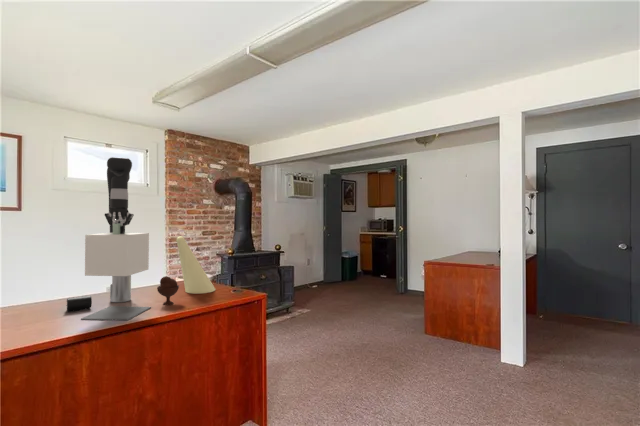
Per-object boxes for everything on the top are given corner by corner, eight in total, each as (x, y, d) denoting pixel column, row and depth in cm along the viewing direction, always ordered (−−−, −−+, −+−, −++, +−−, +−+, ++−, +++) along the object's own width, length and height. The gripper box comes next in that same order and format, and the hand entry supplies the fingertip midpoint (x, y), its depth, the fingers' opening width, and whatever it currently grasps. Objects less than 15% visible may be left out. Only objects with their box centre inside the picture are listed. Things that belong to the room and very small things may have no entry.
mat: (80, 319, 161) (80, 318, 161) (109, 307, 183) (109, 306, 183) (127, 320, 161) (127, 319, 161) (151, 307, 182) (151, 306, 182)
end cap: (67, 313, 171) (67, 299, 171) (65, 310, 177) (65, 297, 177) (91, 310, 178) (91, 296, 178) (89, 307, 183) (89, 294, 183)
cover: (84, 275, 162) (85, 223, 162) (110, 268, 182) (111, 222, 182) (126, 276, 162) (127, 224, 162) (148, 269, 182) (149, 223, 182)
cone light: (209, 286, 238) (209, 234, 238) (220, 290, 224) (220, 235, 224) (171, 291, 223) (171, 235, 223) (180, 296, 209) (181, 237, 209)
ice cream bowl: (164, 307, 183) (164, 278, 183) (153, 304, 190) (153, 276, 190) (182, 303, 191) (183, 276, 192) (171, 300, 198) (172, 273, 198)
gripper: (100, 197, 168) (99, 234, 168) (129, 198, 168) (128, 234, 168) (109, 198, 176) (109, 233, 176) (137, 198, 176) (137, 233, 176)
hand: (119, 233), depth 172 cm, fingers closed on cover, 2 cm apart
